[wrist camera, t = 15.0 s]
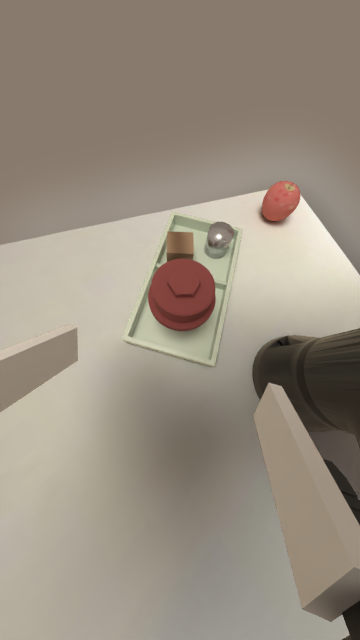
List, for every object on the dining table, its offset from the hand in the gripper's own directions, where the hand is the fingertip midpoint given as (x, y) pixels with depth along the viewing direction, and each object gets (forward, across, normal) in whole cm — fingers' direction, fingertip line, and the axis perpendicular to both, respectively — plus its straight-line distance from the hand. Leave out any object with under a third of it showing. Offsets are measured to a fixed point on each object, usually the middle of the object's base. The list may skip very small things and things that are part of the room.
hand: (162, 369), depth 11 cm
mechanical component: (+21, +3, +3) cm, 22 cm away
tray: (+26, +3, -3) cm, 26 cm away
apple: (+43, -12, -22) cm, 49 cm away
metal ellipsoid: (+32, -1, -11) cm, 34 cm away
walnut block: (+28, +6, -7) cm, 30 cm away
